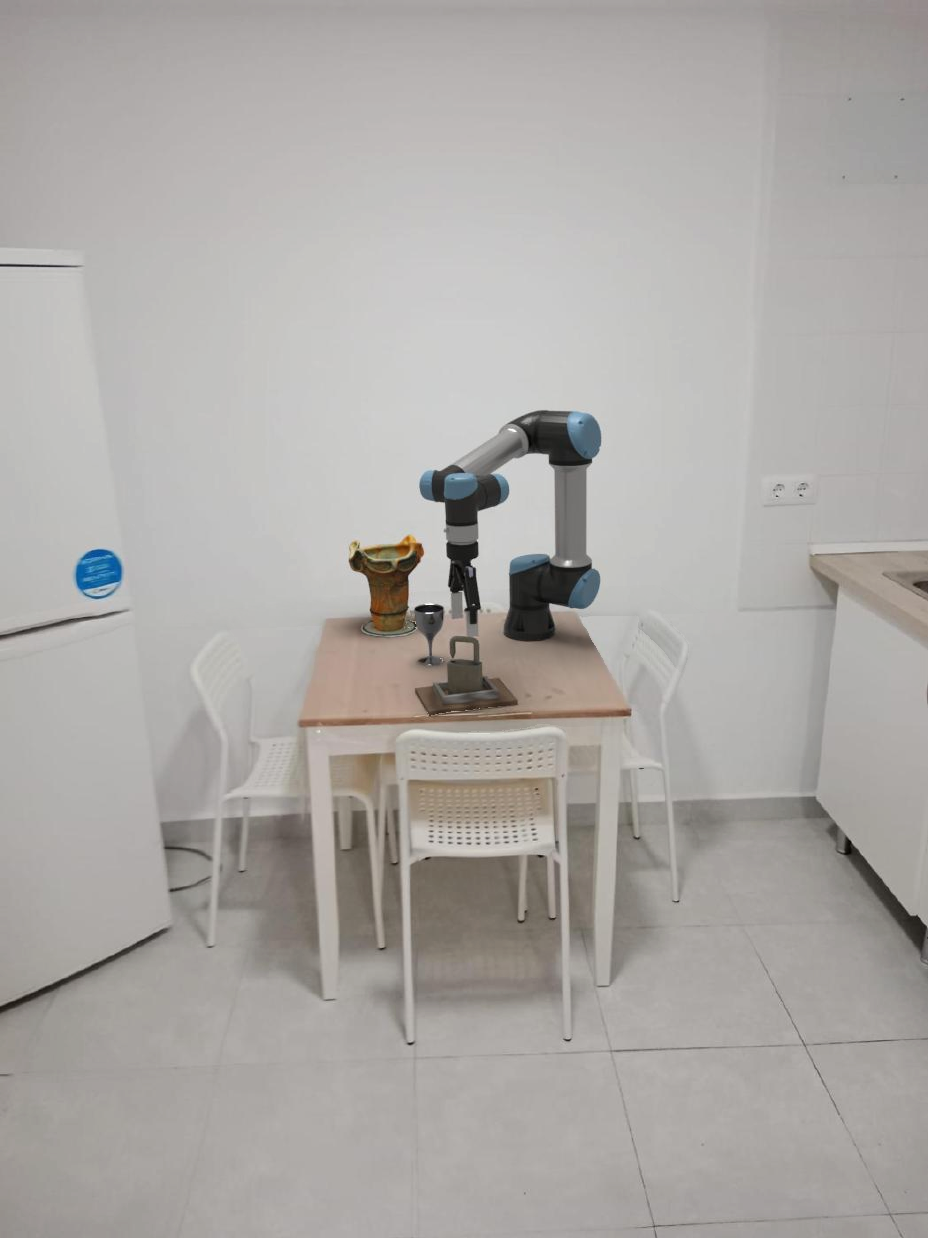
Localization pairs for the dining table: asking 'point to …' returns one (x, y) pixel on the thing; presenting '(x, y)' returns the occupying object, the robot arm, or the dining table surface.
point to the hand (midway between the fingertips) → (464, 626)
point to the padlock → (464, 669)
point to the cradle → (465, 697)
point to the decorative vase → (387, 583)
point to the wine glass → (429, 627)
